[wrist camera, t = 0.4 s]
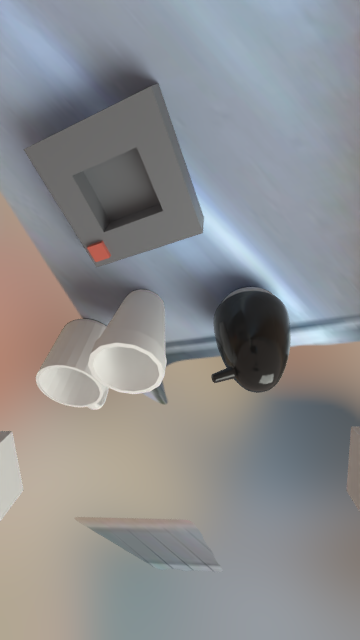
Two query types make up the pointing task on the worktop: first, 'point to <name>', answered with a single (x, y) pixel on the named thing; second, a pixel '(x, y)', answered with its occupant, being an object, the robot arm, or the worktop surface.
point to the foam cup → (132, 346)
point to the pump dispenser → (252, 338)
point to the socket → (121, 179)
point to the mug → (73, 367)
